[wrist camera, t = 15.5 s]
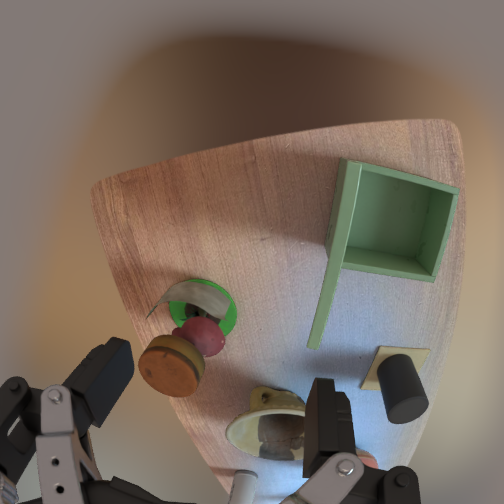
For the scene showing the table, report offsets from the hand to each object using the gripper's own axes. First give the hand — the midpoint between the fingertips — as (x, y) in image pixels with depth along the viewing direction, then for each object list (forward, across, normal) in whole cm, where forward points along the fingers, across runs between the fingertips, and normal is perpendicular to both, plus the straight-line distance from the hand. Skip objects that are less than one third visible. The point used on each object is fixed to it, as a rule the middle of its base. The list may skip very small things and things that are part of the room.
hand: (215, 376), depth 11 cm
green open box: (+28, -14, -3) cm, 31 cm away
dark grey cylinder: (+27, -24, +22) cm, 43 cm away
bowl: (+28, -7, +34) cm, 44 cm away
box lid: (+13, -7, -3) cm, 15 cm away
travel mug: (+28, -3, +70) cm, 75 cm away
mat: (+28, -25, +23) cm, 44 cm away
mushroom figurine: (+28, +8, +15) cm, 33 cm away
